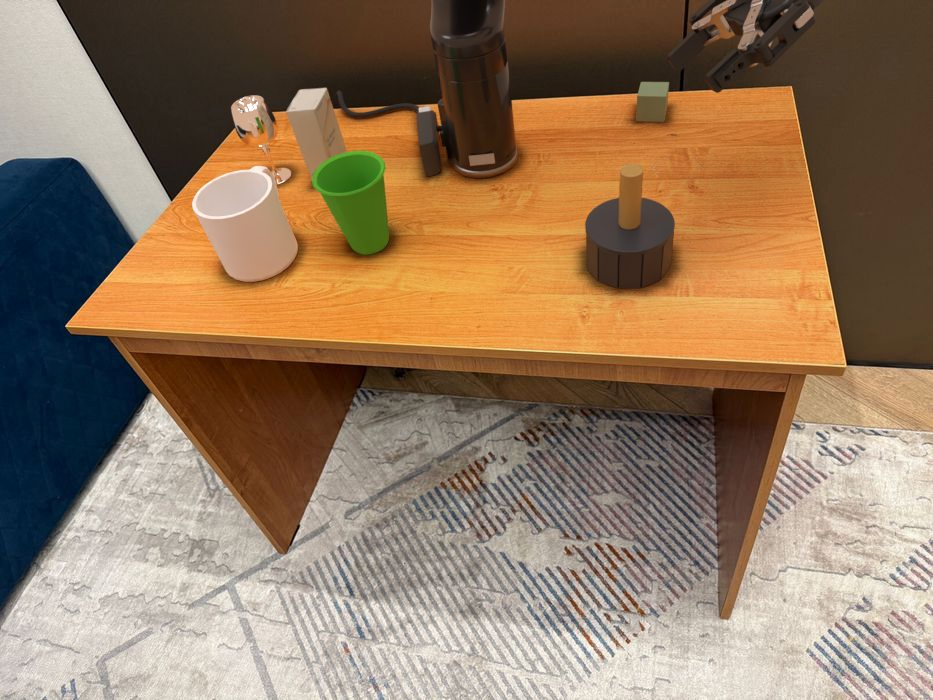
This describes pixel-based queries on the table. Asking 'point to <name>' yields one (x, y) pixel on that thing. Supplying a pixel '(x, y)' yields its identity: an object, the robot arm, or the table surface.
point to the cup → (356, 198)
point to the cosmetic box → (315, 127)
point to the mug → (246, 224)
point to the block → (652, 101)
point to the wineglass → (258, 129)
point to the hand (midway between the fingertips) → (690, 75)
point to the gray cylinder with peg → (629, 236)
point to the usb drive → (429, 140)
